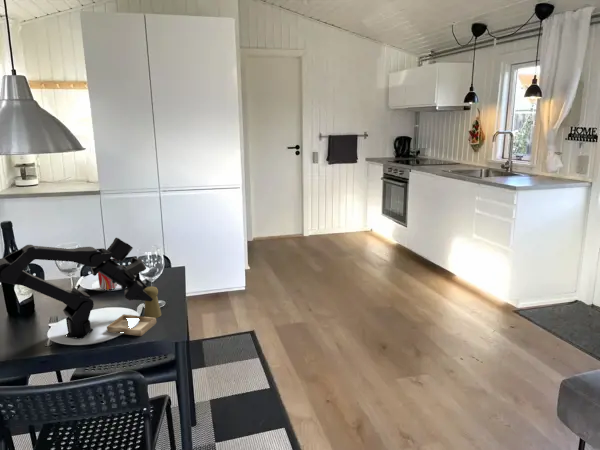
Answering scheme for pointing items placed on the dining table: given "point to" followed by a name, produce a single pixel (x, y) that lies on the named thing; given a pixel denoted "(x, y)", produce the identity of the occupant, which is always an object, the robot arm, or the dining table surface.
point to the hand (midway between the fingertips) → (150, 295)
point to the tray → (139, 330)
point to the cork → (152, 303)
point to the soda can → (105, 282)
